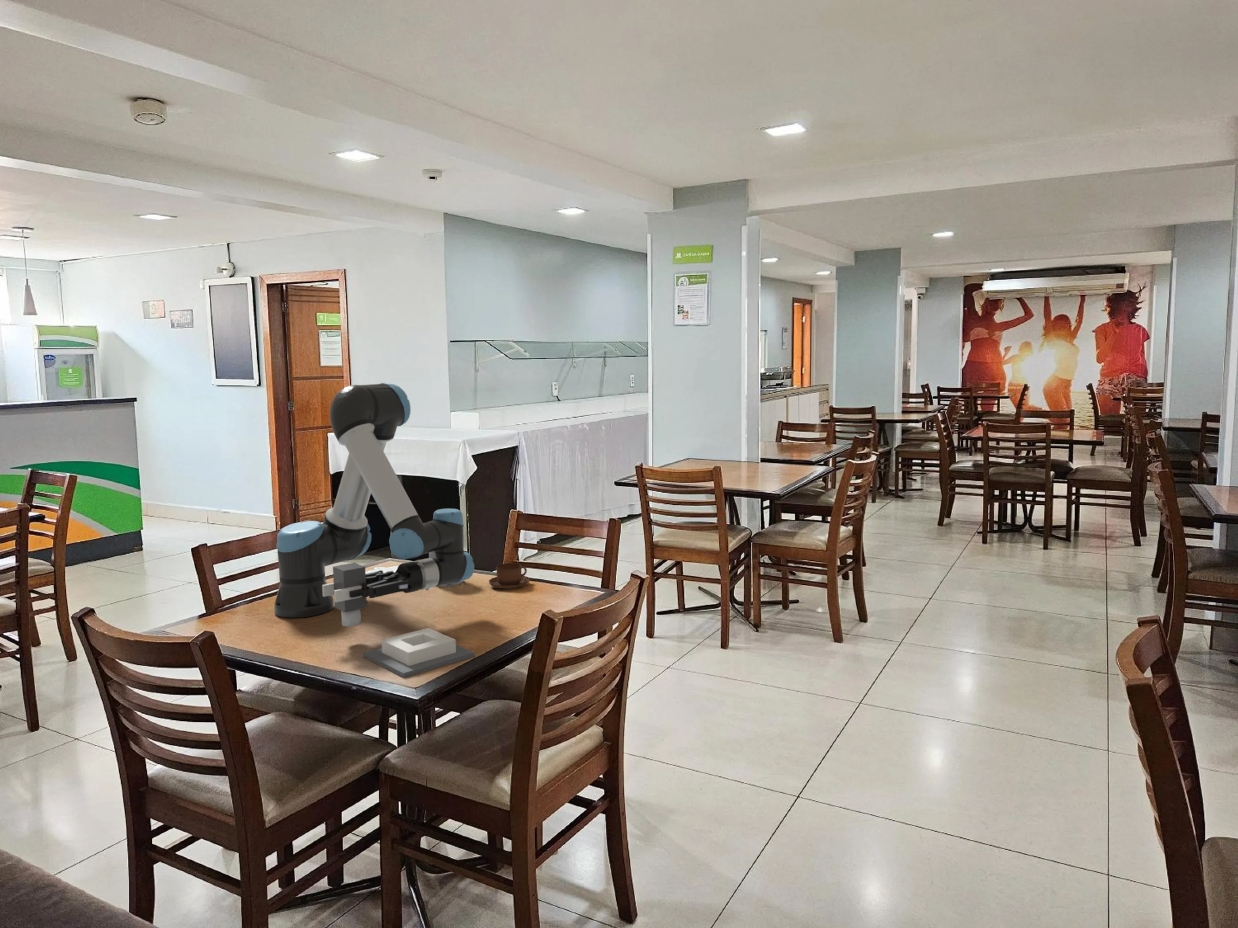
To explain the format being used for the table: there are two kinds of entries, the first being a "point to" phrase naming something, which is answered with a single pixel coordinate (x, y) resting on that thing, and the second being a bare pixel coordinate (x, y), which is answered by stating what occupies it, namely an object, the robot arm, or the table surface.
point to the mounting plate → (383, 569)
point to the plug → (344, 579)
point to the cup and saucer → (509, 576)
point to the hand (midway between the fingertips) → (329, 593)
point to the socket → (418, 652)
